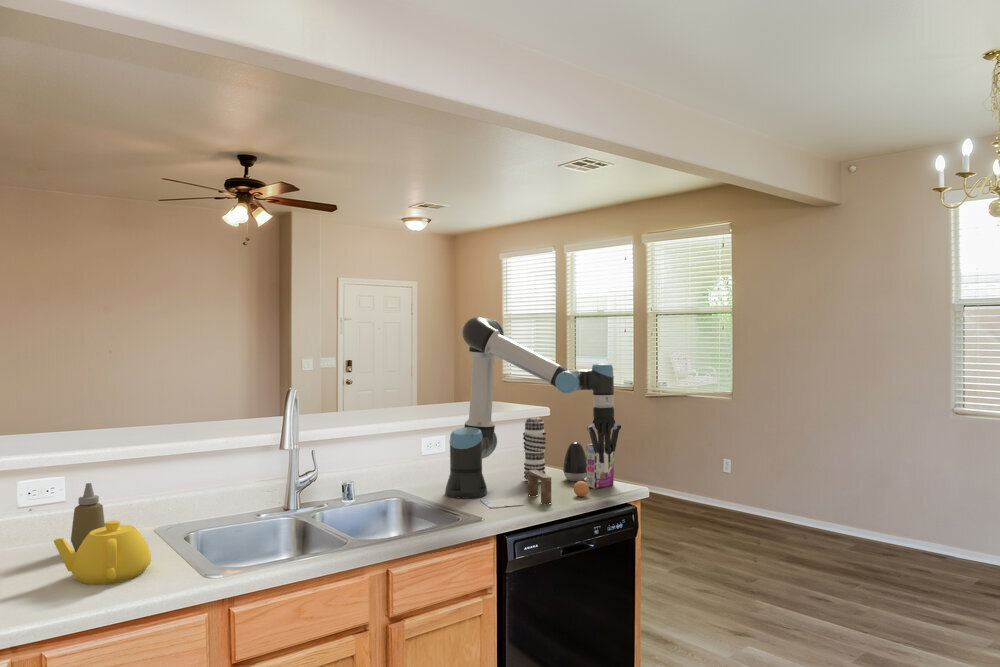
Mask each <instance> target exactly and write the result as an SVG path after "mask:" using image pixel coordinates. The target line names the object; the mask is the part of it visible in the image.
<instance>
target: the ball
mask: <svg viewBox="0 0 1000 667" xmlns="http://www.w3.org/2000/svg"><path fill="white" fill-rule="evenodd" d="M589 491H590V488H589V486H588V484H587V483H586V481H583V480H582V481H576V482H575V483H574V485H573V492H574V494H575V495H576V496H577V497H581V498H582V497H586V496H587V495H588V493H589Z"/></svg>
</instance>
